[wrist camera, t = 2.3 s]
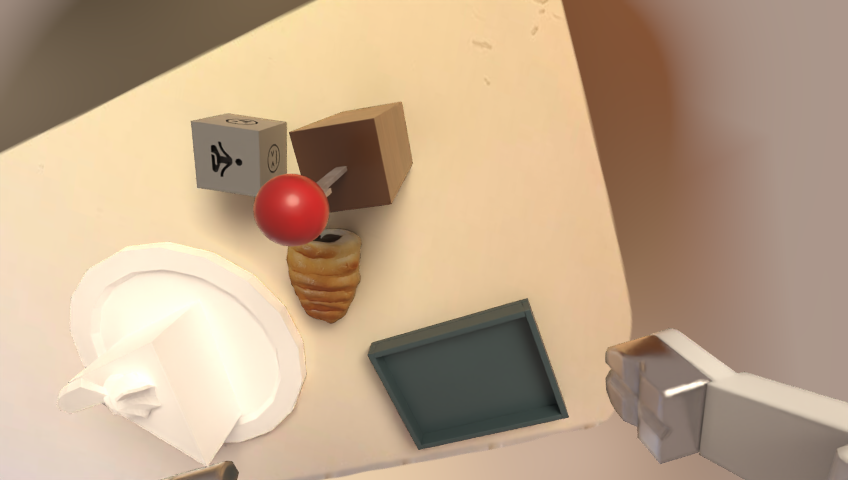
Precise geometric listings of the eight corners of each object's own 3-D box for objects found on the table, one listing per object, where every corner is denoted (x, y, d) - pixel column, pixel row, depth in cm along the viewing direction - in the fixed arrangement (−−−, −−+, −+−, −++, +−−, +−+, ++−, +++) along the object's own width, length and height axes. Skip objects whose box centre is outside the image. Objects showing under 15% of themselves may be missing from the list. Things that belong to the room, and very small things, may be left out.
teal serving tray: (527, 297, 39) (530, 309, 37) (564, 402, 43) (568, 417, 41) (371, 342, 42) (367, 355, 40) (420, 435, 47) (418, 450, 45)
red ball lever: (401, 101, 33) (322, 147, 15) (412, 163, 35) (355, 274, 16) (341, 111, 34) (194, 168, 15) (355, 172, 35) (238, 287, 17)
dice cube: (227, 113, 34) (190, 121, 30) (286, 122, 34) (258, 131, 30) (231, 172, 36) (197, 187, 32) (286, 180, 36) (260, 197, 32)
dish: (32, 301, 44) (-100, 374, 34) (207, 200, 38) (109, 251, 27) (183, 456, 52) (112, 555, 41) (350, 394, 45) (315, 492, 35)
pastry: (363, 315, 41) (353, 339, 37) (297, 308, 41) (281, 330, 38) (364, 227, 37) (353, 244, 34) (291, 220, 38) (273, 236, 34)
